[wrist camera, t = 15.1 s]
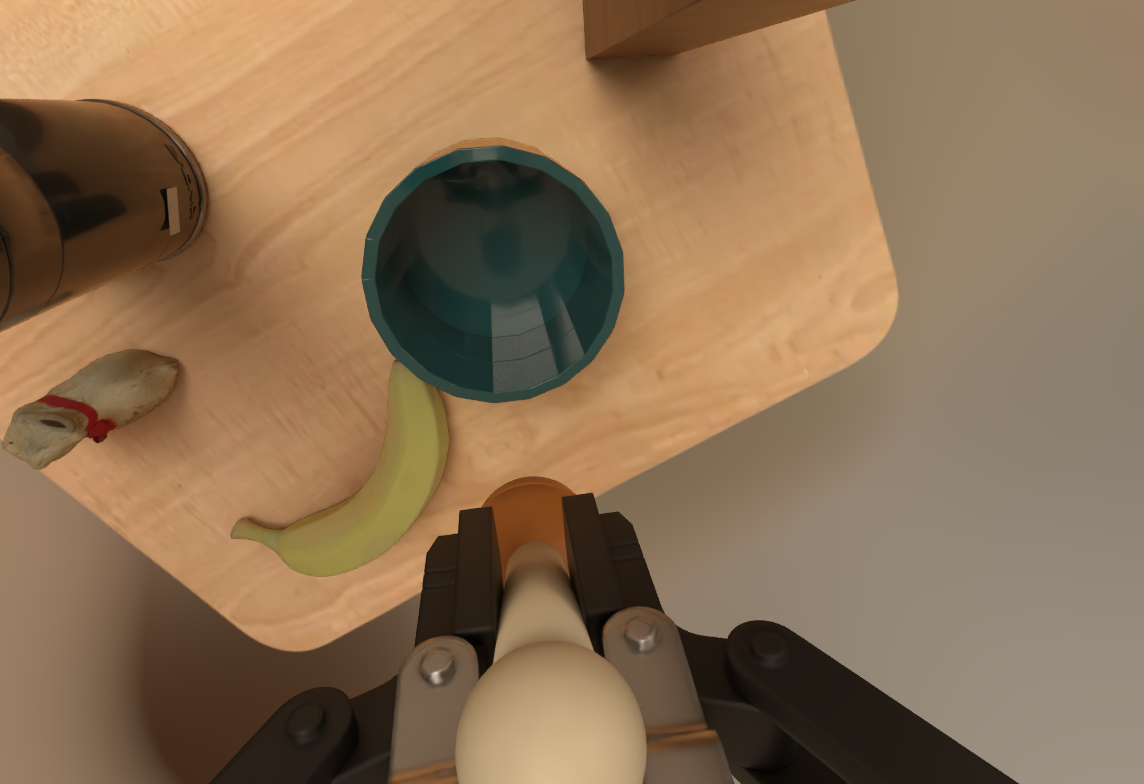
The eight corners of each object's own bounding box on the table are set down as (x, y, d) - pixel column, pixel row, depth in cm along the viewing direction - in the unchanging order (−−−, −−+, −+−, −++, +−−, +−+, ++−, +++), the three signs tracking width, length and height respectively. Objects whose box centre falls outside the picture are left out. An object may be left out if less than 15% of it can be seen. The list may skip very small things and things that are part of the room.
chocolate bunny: (50, 345, 40) (-76, 412, 31) (177, 349, 41) (91, 416, 32) (71, 417, 42) (-41, 499, 33) (190, 420, 44) (114, 500, 35)
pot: (411, 352, 44) (391, 415, 35) (370, 147, 38) (333, 158, 29) (599, 332, 45) (627, 387, 36) (589, 129, 39) (620, 135, 30)
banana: (481, 536, 42) (244, 612, 46) (497, 503, 48) (284, 573, 51) (402, 359, 40) (156, 453, 43) (428, 346, 45) (208, 430, 48)
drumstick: (346, 1089, 5) (306, 603, 6) (484, 589, 24) (472, 480, 24) (804, 994, 6) (742, 543, 6) (592, 574, 24) (579, 467, 25)
